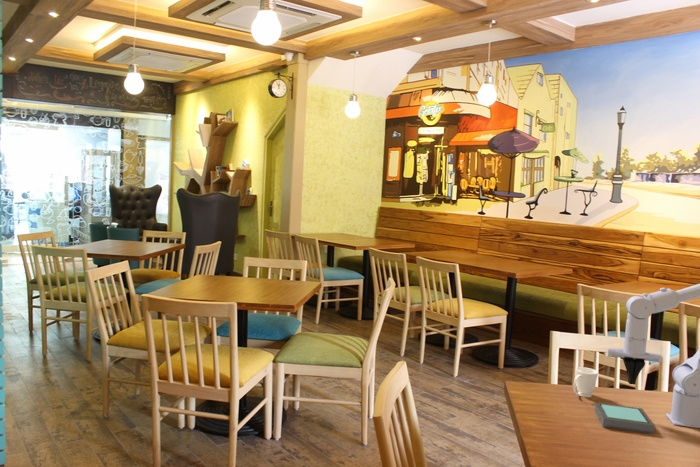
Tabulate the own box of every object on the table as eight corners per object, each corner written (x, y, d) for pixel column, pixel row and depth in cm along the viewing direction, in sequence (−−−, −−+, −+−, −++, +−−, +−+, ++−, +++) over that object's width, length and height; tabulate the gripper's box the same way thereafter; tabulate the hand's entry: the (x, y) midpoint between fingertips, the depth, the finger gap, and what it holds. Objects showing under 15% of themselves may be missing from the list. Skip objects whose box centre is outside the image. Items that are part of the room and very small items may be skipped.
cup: (600, 396, 184) (603, 371, 183) (583, 402, 178) (585, 376, 177) (580, 389, 189) (583, 365, 189) (563, 394, 183) (565, 370, 183)
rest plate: (637, 414, 167) (638, 409, 167) (647, 427, 157) (647, 422, 157) (600, 409, 169) (601, 404, 169) (607, 422, 159) (608, 416, 159)
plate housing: (641, 416, 168) (642, 408, 168) (653, 434, 156) (654, 425, 155) (594, 410, 171) (595, 402, 171) (602, 427, 158) (603, 418, 158)
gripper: (659, 337, 170) (654, 382, 171) (606, 331, 173) (602, 375, 174) (666, 343, 163) (661, 390, 164) (611, 337, 166) (606, 383, 167)
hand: (631, 383), depth 169 cm, fingers closed
